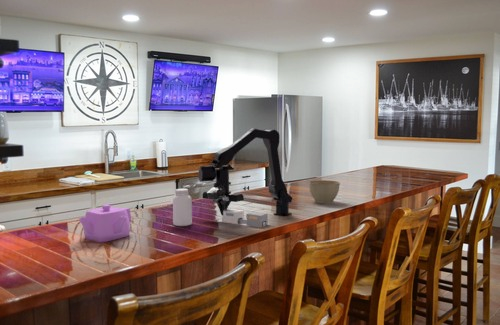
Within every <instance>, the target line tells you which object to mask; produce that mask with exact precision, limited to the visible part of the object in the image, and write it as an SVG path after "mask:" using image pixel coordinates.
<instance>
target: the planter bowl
mask: <svg viewBox="0 0 500 325" xmlns="http://www.w3.org/2000/svg"><path fill="white" fill-rule="evenodd" d="M340 184H341V182H340V181H336V180H324V179H323V180H319V179H318V180H309V181H308V185H309V192H310V194H311V197H312V198H313V199H314V202H315V203H317V204H333V203H334V200H335V199H336V197H337V195H338V193H339V191H340ZM332 202H333V203H332Z"/></svg>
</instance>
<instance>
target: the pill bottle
mask: <svg viewBox="0 0 500 325" xmlns="http://www.w3.org/2000/svg"><path fill="white" fill-rule="evenodd" d="M192 204H193V203H192V196H190V195H189V189H188V188H176V189H175V195H174V196H173V197H172V223H173V226H177V227H186V226H191V225H192V224H193V205H192Z"/></svg>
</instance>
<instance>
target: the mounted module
mask: <svg viewBox="0 0 500 325" xmlns="http://www.w3.org/2000/svg"><path fill="white" fill-rule="evenodd" d="M268 215H269V214H268V213H266V212H260V211H259V212H258V211H252V212H248V213H246V218H245V219H247V225H252V226H259V227H260V228H262V227H261V226H262V222H263V221H264V222H265V225H266V226H268V225H267V224H269V223H268V220H269V219H268V218H269V217H268ZM252 226H251V227H252ZM259 227H258V228H259Z"/></svg>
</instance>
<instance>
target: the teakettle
mask: <svg viewBox="0 0 500 325" xmlns="http://www.w3.org/2000/svg"><path fill="white" fill-rule="evenodd" d="M78 220H79V222H80V223H81V225H82V228H83V235H84V237H85V238H84V239H87V240H90V241H94V242H96V243H97V242H98V243H107V242H109V241H110V242H111V241H115V240H118V239H122V238H125V237H129V236H130V233H131V226H130V223H132V215H131V208H129V207H125V208H121V207H117V206H116V207H114V206H112V205H110V204H104V205H101V208H91V209H90V210H87V211H86V212H85V215H84V216H81V217H79V218H78Z"/></svg>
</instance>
